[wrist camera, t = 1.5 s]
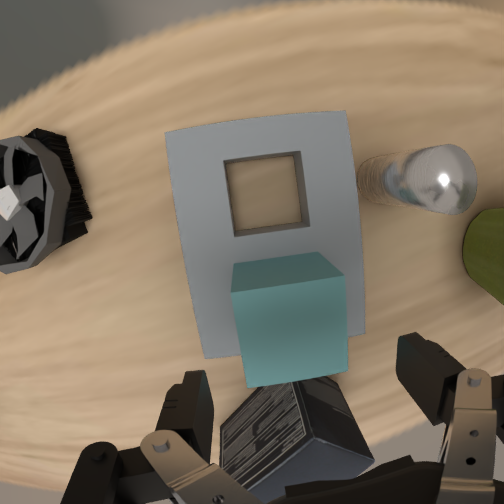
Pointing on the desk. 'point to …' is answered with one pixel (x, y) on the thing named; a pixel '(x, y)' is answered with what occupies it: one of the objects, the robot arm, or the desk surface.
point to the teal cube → (290, 318)
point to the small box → (292, 438)
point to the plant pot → (486, 251)
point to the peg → (421, 179)
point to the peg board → (272, 237)
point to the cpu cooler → (37, 199)
